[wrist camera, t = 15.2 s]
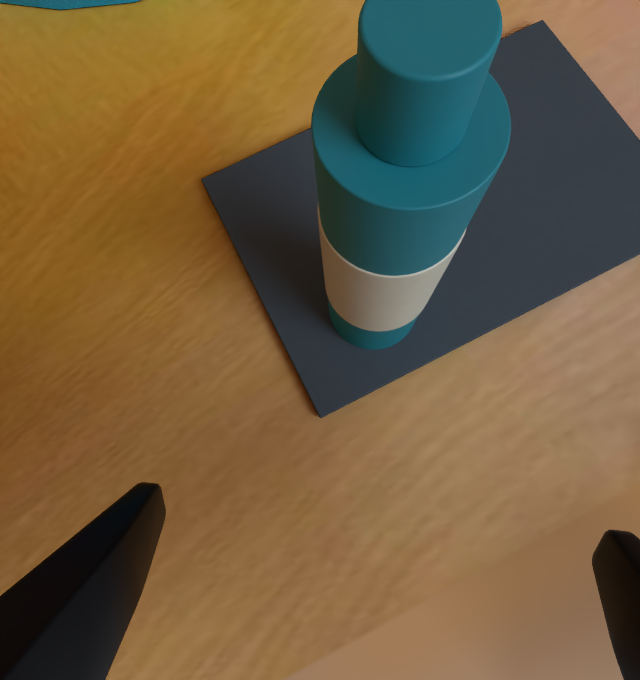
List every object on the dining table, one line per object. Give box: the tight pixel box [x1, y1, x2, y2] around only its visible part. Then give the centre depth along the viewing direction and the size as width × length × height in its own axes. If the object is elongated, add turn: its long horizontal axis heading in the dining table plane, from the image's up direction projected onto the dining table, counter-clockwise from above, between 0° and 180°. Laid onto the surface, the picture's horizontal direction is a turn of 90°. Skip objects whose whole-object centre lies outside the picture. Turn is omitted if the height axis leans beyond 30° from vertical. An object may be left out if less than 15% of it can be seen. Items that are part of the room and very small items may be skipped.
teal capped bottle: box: [311, 0, 511, 350], centre depth 13 cm, size 4×4×13 cm
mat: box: [201, 20, 640, 418], centre depth 20 cm, size 12×18×1 cm, turn 117°
